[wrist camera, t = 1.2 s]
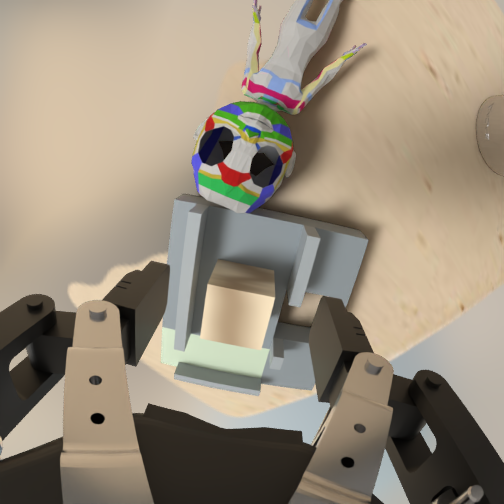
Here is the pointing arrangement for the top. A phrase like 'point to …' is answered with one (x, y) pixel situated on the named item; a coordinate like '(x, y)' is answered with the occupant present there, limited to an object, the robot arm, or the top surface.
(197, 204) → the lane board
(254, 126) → the toy
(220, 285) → the block
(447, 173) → the top surface
